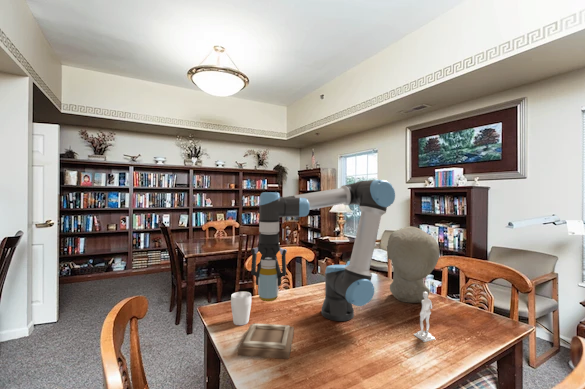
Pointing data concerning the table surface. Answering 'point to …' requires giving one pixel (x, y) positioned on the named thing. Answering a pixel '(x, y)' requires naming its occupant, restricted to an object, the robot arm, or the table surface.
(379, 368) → the table surface
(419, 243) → the bust
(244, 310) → the cup
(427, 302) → the figurine
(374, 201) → the robot arm
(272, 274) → the bottle
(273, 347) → the plinth
